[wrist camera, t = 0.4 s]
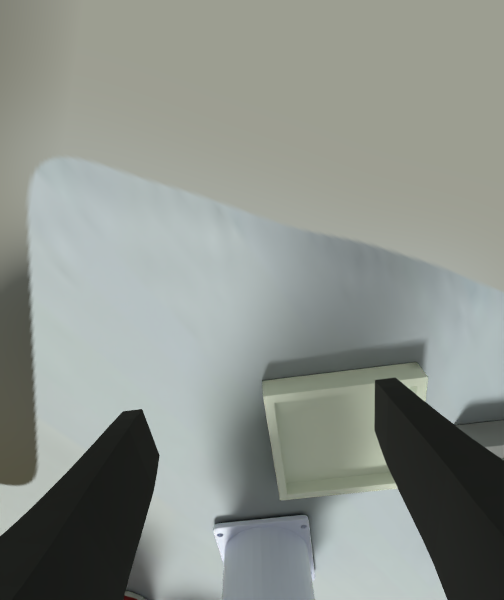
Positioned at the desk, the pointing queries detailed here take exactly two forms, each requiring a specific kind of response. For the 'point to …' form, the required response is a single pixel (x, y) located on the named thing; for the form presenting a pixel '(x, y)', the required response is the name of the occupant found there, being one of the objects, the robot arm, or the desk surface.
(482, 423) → the housing
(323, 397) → the tray
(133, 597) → the soda can
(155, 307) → the desk surface
